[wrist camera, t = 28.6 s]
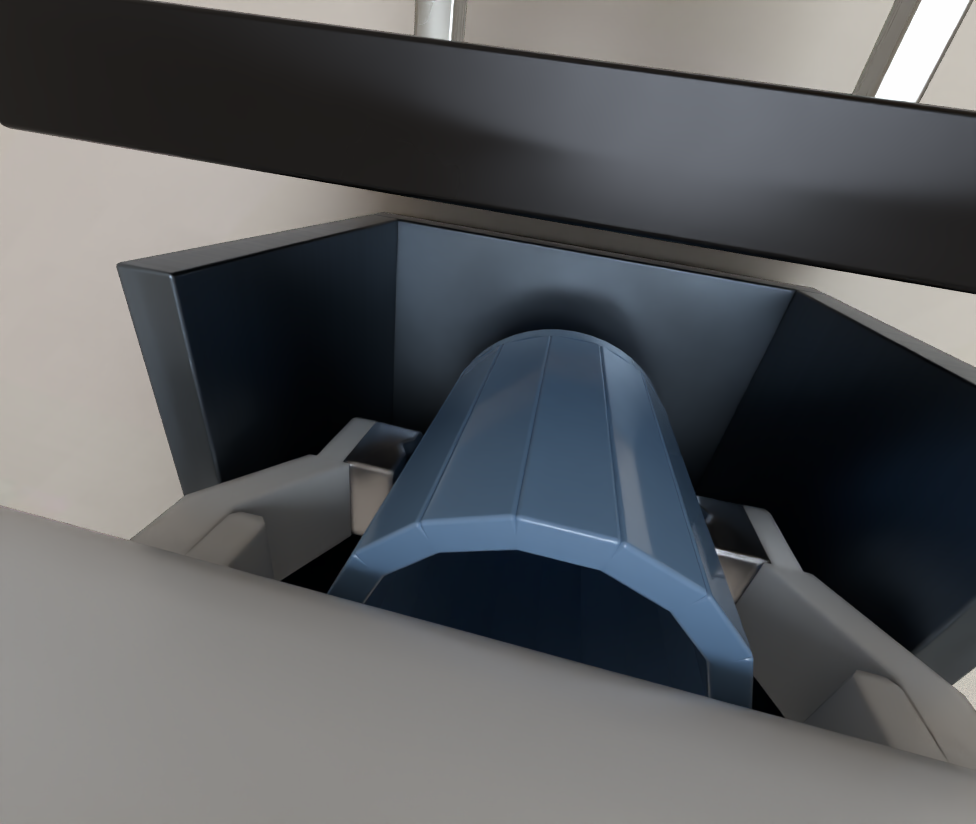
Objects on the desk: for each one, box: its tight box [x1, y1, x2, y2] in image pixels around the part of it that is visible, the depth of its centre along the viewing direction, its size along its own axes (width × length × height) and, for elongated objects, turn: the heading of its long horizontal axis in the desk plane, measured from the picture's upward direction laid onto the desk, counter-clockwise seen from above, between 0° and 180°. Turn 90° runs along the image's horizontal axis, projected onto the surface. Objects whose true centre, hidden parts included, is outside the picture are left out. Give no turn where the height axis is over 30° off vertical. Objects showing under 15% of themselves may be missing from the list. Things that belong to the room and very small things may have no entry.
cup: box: [326, 329, 754, 709], centre depth 9 cm, size 6×6×6 cm
